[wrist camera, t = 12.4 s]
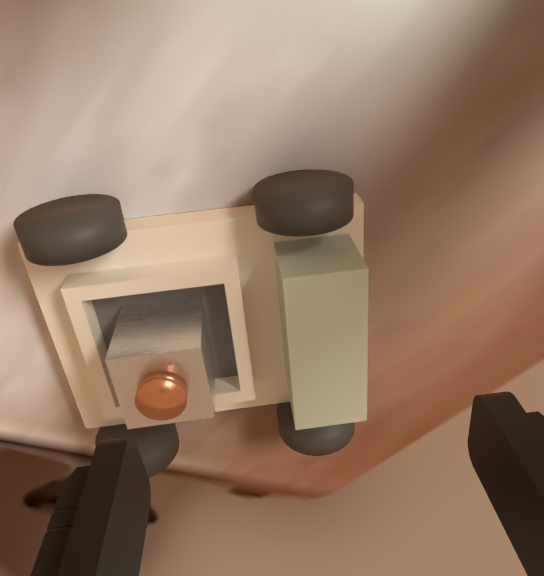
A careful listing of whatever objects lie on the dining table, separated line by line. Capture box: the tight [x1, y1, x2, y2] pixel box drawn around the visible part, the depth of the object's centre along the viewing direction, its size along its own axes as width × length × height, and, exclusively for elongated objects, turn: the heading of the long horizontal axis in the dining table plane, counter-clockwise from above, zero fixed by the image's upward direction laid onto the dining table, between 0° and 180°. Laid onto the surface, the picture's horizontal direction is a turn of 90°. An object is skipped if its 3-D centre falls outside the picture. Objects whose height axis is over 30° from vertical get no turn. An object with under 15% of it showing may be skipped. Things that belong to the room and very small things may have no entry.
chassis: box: [14, 170, 369, 478], centre depth 34 cm, size 22×20×7 cm
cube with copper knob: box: [105, 295, 215, 429], centre depth 32 cm, size 6×6×7 cm
